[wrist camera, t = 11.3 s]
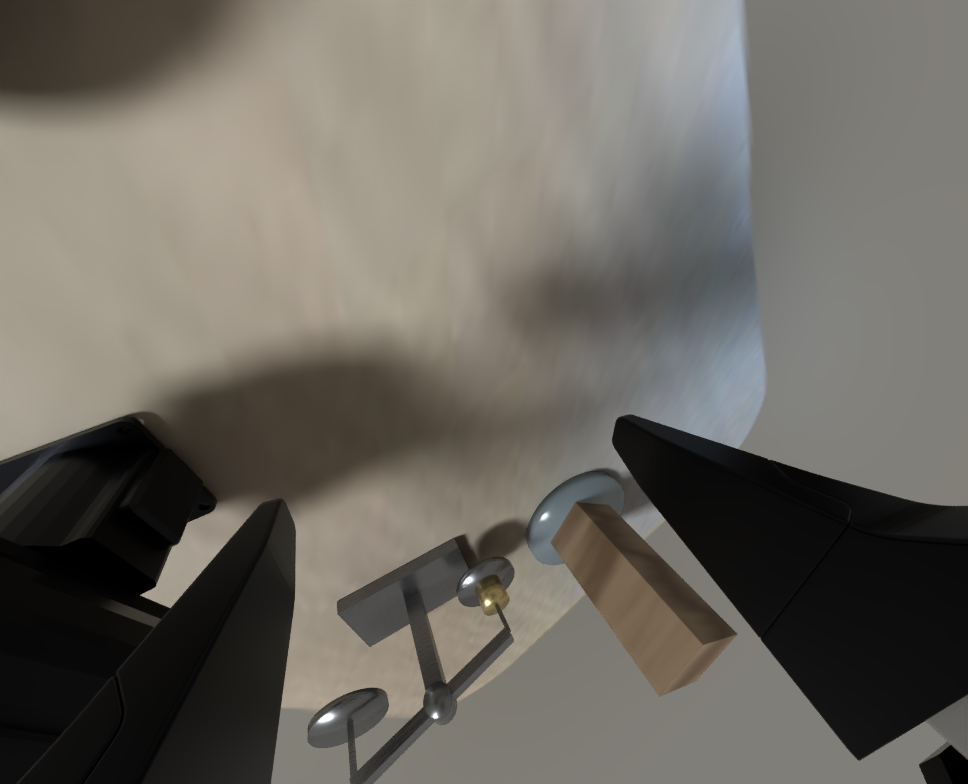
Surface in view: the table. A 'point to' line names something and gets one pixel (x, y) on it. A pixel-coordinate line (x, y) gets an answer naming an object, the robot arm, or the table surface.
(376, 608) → the balance
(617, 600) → the walnut block
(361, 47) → the table surface
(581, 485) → the slate dish
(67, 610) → the robot arm
